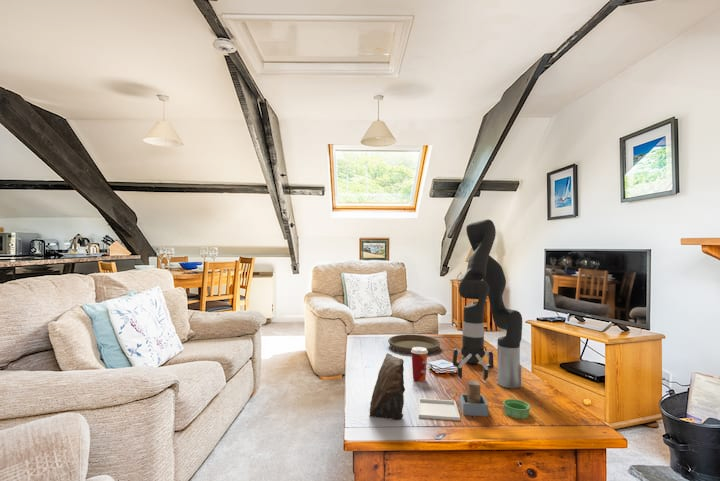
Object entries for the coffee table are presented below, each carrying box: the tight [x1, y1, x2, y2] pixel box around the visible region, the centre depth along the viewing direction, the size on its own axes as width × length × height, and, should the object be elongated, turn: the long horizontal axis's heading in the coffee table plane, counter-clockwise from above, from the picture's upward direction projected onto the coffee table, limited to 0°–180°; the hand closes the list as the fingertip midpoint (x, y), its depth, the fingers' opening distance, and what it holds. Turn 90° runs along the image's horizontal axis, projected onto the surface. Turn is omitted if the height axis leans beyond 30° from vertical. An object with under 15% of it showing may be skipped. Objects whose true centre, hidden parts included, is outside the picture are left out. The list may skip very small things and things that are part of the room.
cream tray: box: [417, 397, 461, 421], centre depth 134 cm, size 14×14×2 cm
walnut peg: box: [466, 379, 481, 403], centre depth 135 cm, size 4×4×10 cm
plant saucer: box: [388, 334, 441, 355], centre depth 221 cm, size 31×31×5 cm
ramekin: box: [503, 398, 531, 419], centre depth 133 cm, size 9×9×4 cm
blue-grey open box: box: [459, 393, 489, 417], centre depth 135 cm, size 9×9×5 cm
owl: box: [369, 353, 406, 421], centre depth 134 cm, size 13×13×20 cm
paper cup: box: [411, 347, 429, 383], centre depth 168 cm, size 8×8×14 cm
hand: (472, 378), depth 135 cm, fingers open, 8 cm apart
